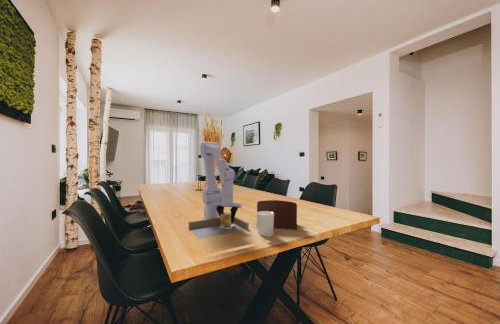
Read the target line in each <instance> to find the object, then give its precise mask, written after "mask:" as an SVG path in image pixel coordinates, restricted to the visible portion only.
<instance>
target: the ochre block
mask: <svg viewBox="0 0 500 324" xmlns="http://www.w3.org/2000/svg"><path fill="white" fill-rule="evenodd" d="M219 217H220V225H226V226H231V225H232V224H233V223H234V222H233V223H231V212H227V211H224V213H222V214H221V215H220V216H219Z"/></svg>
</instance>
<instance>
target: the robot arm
mask: <svg viewBox="0 0 500 324" xmlns="http://www.w3.org/2000/svg"><path fill="white" fill-rule="evenodd" d="M220 150H221V145H220V142H218V141H217V142H216V141H215V142H212V141H211V142H210V141H202V142H201V143H200V150H199V151H200V155H201V156H200V157H201V158H202V159H203V161H204V162H203V164H204V170H205V180H206V187H205V188H204V190H203V191H202V203H203V204H204V205H205V206H204V209H203V211H204V212H203V214H204V216H203V217H202V220H205V219H212V218H219V217H220V215H221V214H222V213H224V212H225V208H230V213H231V223H233V222H234V217H235V216H236V215H237V212H238V210H239V209H242V208H243V203H241V202H234V181H236V176H237V175H236V172H235V170H234V169H233V168H231V167H230V165H229V164H228V162H227V160H226V159H224V158H223V156H222V153H221V151H220ZM214 160H215V166H216V168H217V171H218V172H219V175H218V176H219V181H220V185H221V188H219V187H218V186H217V184H216V177H215V176H216V175H215V174H216V173H215V168H214Z"/></svg>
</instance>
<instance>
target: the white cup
mask: <svg viewBox="0 0 500 324" xmlns="http://www.w3.org/2000/svg"><path fill="white" fill-rule="evenodd" d="M273 226H274V213H273V212H270V211H260V212H257V211H256V229H257V234H258V235H260V236H263V237H264V236H266V237H267V238H272V237H273V236H274V228H273Z"/></svg>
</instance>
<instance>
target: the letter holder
mask: <svg viewBox="0 0 500 324" xmlns="http://www.w3.org/2000/svg"><path fill="white" fill-rule="evenodd" d="M260 211H270V212H273V213H274V226H273V229H279V230H291V231H292V230H293V231H296V230H297V229H298V227H297V226H298V204H297V203H296V202H293V201H289V200H281V199H280V200H279V199H277V200H276V199H272V200H271V199H270V200H269V199H267V200H259V201H257V202H256V213H257V212H260Z"/></svg>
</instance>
